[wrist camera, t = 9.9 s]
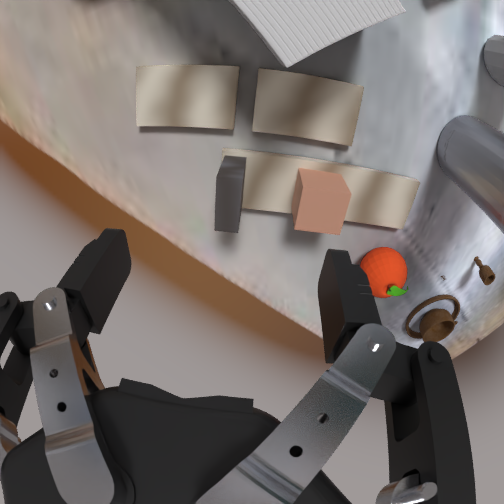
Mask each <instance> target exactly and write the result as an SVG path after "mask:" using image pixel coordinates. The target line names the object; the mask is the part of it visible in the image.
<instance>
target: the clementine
mask: <svg viewBox="0 0 504 504" xmlns="http://www.w3.org/2000/svg"><path fill="white" fill-rule="evenodd" d="M360 267H361V268H362V269H363V270H364V272H365V273H366V274H367V277H368V280H369V283H370V287H371V289H372V295H373V296H375V297H379V298H387V297H390V296H400V295H403V294H405V293H406V292H407V290H408V286H407V290H403V289H402V287H403V286H404V284H405V282H406V279H407V266H406V263H405V260H404V259H403V257H402V256H401V255H400V253H398V252H397V251H395V250H394V249H392V248H388V247H379V248H375V249H373V250H371V251H370V252H368V253H367V254H366V256H365V257H364V258H363V259H362V261H361V264H360Z"/></svg>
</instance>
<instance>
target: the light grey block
mask: <svg viewBox="0 0 504 504" xmlns="http://www.w3.org/2000/svg"><path fill="white" fill-rule="evenodd" d="M229 2H230V3H231V4H232V5H233V6H234V7H235V8H236V9H237V11H238V12H239V13H240V14H241V15H242V16H243V18H244V19H245V20H246V21H247V22H248V23H249V25H250V26H251V27H252V28H253V29H254V31H255V32H256V33H257V34H258V36H259V37H260V38H261V39H262V41H263V42H264V43H265V45H266V46H267V47H268V48H269V50H270V51H271V52H272V54H273V55H274V56H275V58H276V59H277V60H278V62H279V63H280V64H281V65H283V66H284V67H286V68H288V67H290V66H292V65H293V64H295V63H297V62H299V61H301V60H302V59H304V58H306V57H308V56H310V55H312V54H313V53H315V52H317V51H319V50H321V49H323V48H325V47H327V46H329V45H331V44H333V43H335V42H337V41H339V40H341V39H343V38H345V37H347V36H349V35H352V34H354V33H356V32H358V31H360V30H363V29H365V28H367V27H370V26H372V25H374V24H377V23H379V22H381V21H384V20H386V19H389V18H391V17H394V16H397V15H399V14H402V13H405V12H406V11H405V10H404V8H403V6H402V5H401V3H400V1H399V0H229Z"/></svg>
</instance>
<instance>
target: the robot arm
mask: <svg viewBox="0 0 504 504" xmlns="http://www.w3.org/2000/svg"><path fill="white" fill-rule="evenodd" d="M437 155H438V161H439V164H440V167H441V168H442V170H443V172H444V173H445V174H446V175H447V176H448V177H449V178H450V179H452V180H453V181H454V182H455V183H456V184H457V185H458V186H459V187H460V188H461V189H462V190H463V191H464V192H465V193H466V194H467V195H468V196H469V197H470V198H471V199H472V200H473V201H474V202H475V203H476V204H477V205H478V206H479V207H480V208H481V209H482V210H483V211H484V212H485V213H486V215H487V216H488V217H489V218H490V219H491V220H492V221H493V222H494V223H495V224H496V226H497V227H498V228H499V229H500V230H501V231H502V233H503V234H504V133H502V132H501V131H499V130H497V129H495V128H493V127H492V126H490V125H488V124H486V123H484V122H482V121H480V120H478V119H476V118H474V117H472V116H468V115H464V116H459V117H456V118H454V119H453V120H451V121H450V122H449V123H448V124H447V125H446V126H445V128H444V129H443V131H442V133H441V135H440V138H439V142H438V149H437ZM130 270H131V257H130V253H129V248H128V243H127V238H126V234H125V232H124V230H122V229H110V228H106V229H105V230H104V231H103V232H102V233H101V235H100V236H99V238H98V239H97V240H95V239H94V240H93V241H92V242H90V243H89V244H87V245H86V246H85V247H84V248H83V250H82V251H81V253H80V254H79V257H77V258H76V259H75V261H74V264H72V265H71V267H70V268H69V269H68V271H67V272H66V273H65V275H64V276H63V278H62V279H61V281H60V282H59V284H58V285H57V287H52V288H48V289H45V290H43V291H42V292H40V293H39V294H38V295H37V297H36V298H35V300H34V301H24V302H20V300H19V299H18V297H17V295H16V294H15V293H14V292H5V293H3V294H1V295H0V358H1V355H2V353H3V351H4V349H5V347H6V345H7V343H8V341H9V340H10V341H11V342H12V344H13V345H14V346H13V348H12V350H11V353H10V355H9V357H8V359H7V361H6V363H5V366H4V368H3V369H2V368H1V365H0V481H1V484H2V489H3V494H4V500H5V504H352V503H351V502H350V501H349V500H348V499H347V498H346V497H345V496H344V495H343V494H342V492H340V490H339V489H338V488H337V487H336V486H335V485H334V483H333V482H332V481H331V480H330V479H329V478H328V477H327V476H326V474H325V473H324V472H323V471H322V470H321V468H322V467H323V466H324V464H325V463H326V462H327V460H328V459H329V458H330V457H331V455H332V454H333V453H334V451H335V450H336V449H337V447H338V446H339V445H340V443H341V442H342V440H343V439H344V437H345V436H346V435H347V433H348V432H349V430H350V429H351V427H352V426H353V425H354V423H355V422H356V420H357V418H358V417H359V415H360V414H361V412H362V411H363V409H364V408H365V406H366V405H367V403H368V401H369V399H370V397H373V398H377V399H380V400H384V402H385V413H386V424H387V436H388V453H389V480H390V484H388V485H386V486H385V487H384V488H383V489H382V490H381V491H380V492H379V494H378V496H377V499H376V504H476V494H475V479H474V469H473V460H472V452H471V445H470V439H469V433H468V427H467V422H466V417H465V413H464V407H463V403H462V398H461V394H460V390H459V386H458V382H457V378H456V374H455V370H454V367H453V364H452V360H451V357H450V354H449V352H448V351H447V349H446V348H445V347H444V346H442V345H441V344H439V343H437V342H434V341H427V342H424V343H422V344H421V345H420V347H419V348H418V349H417V348H413V347H410V346H406V345H403V344H400V343H398V342H396V340H395V338H394V336H393V334H392V333H391V332H390V331H389V330H388V329H387V328H385V327H384V326H382V324H381V320H380V317H379V313H378V310H377V306H376V303H375V299H374V296H373V295H372V289H371V287H370V283H369V280H368V277H367V274H366V273H365V272H364V270H363V269H362V268H361V267H360V266H359V265H354V264H352V263H351V260H350V256H349V253H348V251H345V250H335V249H328V250H327V253H326V256H325V260H324V263H323V267H322V270H321V274H320V278H319V282H318V299H319V307H320V315H321V323H322V332H323V341H324V351H325V361H326V363H334V364H333V365H332V366H331V368H330V369H329V370H326V371H325V372H324V373H323V375H322V376H321V377H320V378H319V379H318V381H317V382H316V383H315V384H314V386H313V387H312V388H311V389H310V391H309V392H308V393H307V394H306V395H305V396H304V397H303V399H302V400H301V401H300V402H299V403H298V404H297V406H296V407H295V408H294V409H293V410H292V411H291V412H290V414H289V415H288V416H287V417H286V418H285V419H284V420H283V421H282V422H280V421H279V420H278V419H276V418H275V417H273V416H272V415H270V414H268V413H267V412H264V411H262V410H260V409H257V408H254V407H253V399H247V398H237V397H228V396H209V397H198V398H180V397H178V396H175V395H173V394H171V393H169V392H166V391H164V390H162V389H160V388H158V387H156V386H153V385H151V384H146V383H142V382H137V381H133V380H128V379H124V378H122V379H121V382H120V385H119V386H116V387H109V388H105V387H104V385H103V383H102V381H101V379H100V376H99V373H98V370H97V367H96V364H95V361H94V358H93V354H92V351H91V347H90V344H89V341H88V339H87V337H88V334H89V332H92V333H96V334H100V333H101V331H102V329H103V326H104V324H105V322H106V320H107V318H108V316H109V314H110V312H111V310H112V307H113V305H114V303H115V301H116V299H117V297H118V295H119V293H120V291H121V289H122V287H123V285H124V283H125V281H126V280H127V278H128V276H129V274H130ZM33 380H34V386H35V391H36V397H37V402H38V407H39V412H40V416H41V420H42V425H43V428H42V429H40V430H39V431H37V432H36V433H34V434H33V435H31V436H30V437H28V438H27V439H25V440H24V441H23V442H21V439H20V438H19V437H18V432H17V424H18V421H19V418H20V415H21V412H22V409H23V406H24V403H25V400H26V397H27V395H28V392H29V389H30V386H31V384H32V381H33Z"/></svg>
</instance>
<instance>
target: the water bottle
mask: <svg viewBox="0 0 504 504" xmlns="http://www.w3.org/2000/svg"><path fill="white" fill-rule="evenodd" d="M484 61H485V65H486V67H487V69H488V71H489V74H490V76H491V77H492V78H493V79H494V80H495V81H496V82H497V83H498V84H499V85H502V86H504V36H500V35H494V36H492V37H491V38H489V39H487V42H486V45H485V48H484Z"/></svg>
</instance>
